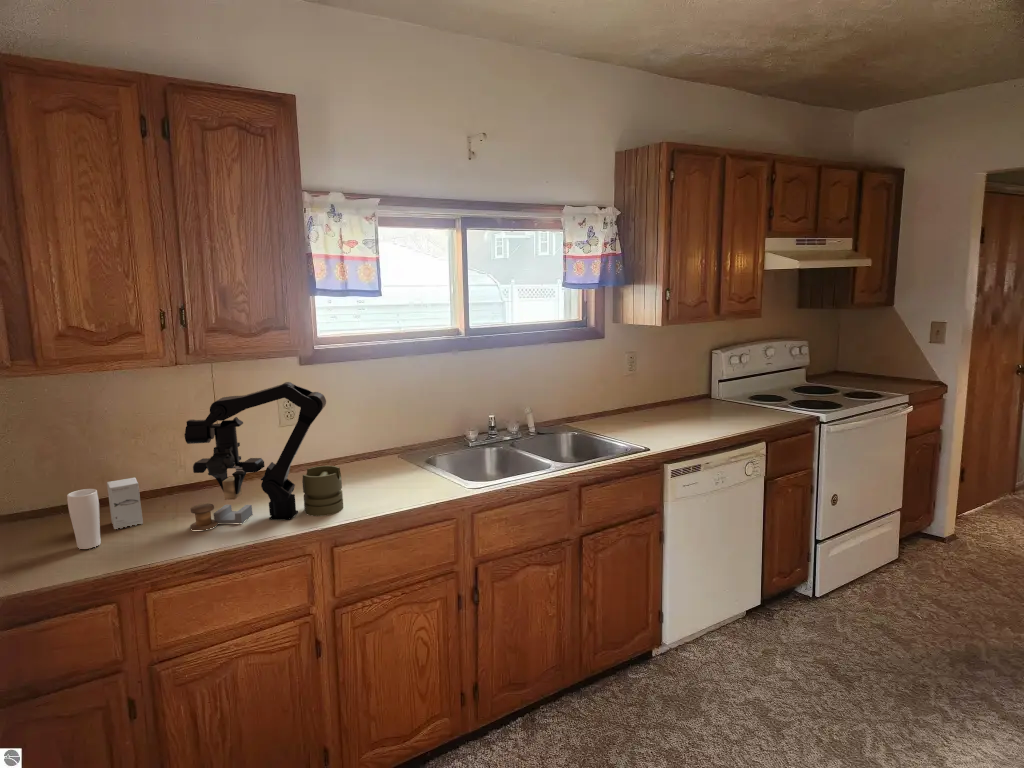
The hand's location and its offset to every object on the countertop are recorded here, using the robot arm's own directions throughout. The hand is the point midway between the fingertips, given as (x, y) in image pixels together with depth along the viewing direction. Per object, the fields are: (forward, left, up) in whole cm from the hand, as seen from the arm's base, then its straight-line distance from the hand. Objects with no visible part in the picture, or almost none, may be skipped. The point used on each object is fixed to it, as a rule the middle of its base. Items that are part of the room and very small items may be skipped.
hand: (231, 493), depth 191 cm
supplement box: (+30, +4, -8) cm, 31 cm away
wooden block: (0, -1, -1) cm, 1 cm away
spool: (+6, +6, -8) cm, 11 cm away
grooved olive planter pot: (-24, -8, -8) cm, 27 cm away
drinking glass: (+30, +20, -8) cm, 37 cm away
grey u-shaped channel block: (0, 0, -8) cm, 8 cm away
